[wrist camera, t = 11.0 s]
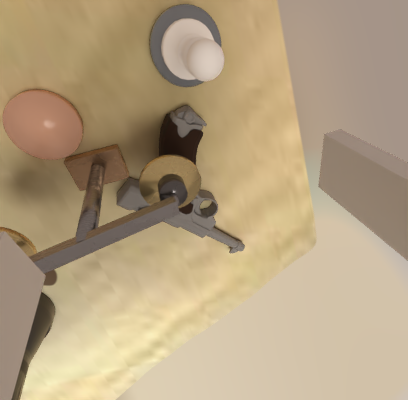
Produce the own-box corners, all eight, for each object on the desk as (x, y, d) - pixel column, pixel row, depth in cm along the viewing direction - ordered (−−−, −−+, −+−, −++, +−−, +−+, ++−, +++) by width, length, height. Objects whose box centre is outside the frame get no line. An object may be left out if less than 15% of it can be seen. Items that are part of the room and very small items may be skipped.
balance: (22, 209, 32) (-41, 330, 20) (-10, 168, 29) (-113, 286, 16) (189, 163, 34) (225, 248, 22) (179, 119, 30) (215, 191, 18)
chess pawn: (175, 85, 27) (193, 111, 20) (150, 34, 24) (161, 43, 17) (218, 62, 27) (251, 81, 20) (199, 7, 24) (230, 5, 17)
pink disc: (32, 161, 29) (29, 167, 28) (-10, 99, 25) (-15, 102, 24) (94, 145, 30) (93, 150, 29) (63, 81, 26) (61, 84, 25)
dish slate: (160, 91, 28) (161, 94, 27) (140, 13, 24) (140, 13, 23) (221, 76, 29) (225, 78, 28) (212, -3, 25) (215, -4, 24)
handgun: (290, 189, 42) (228, 249, 47) (177, 95, 29) (107, 189, 34) (302, 201, 40) (235, 263, 44) (183, 103, 27) (106, 205, 31)
